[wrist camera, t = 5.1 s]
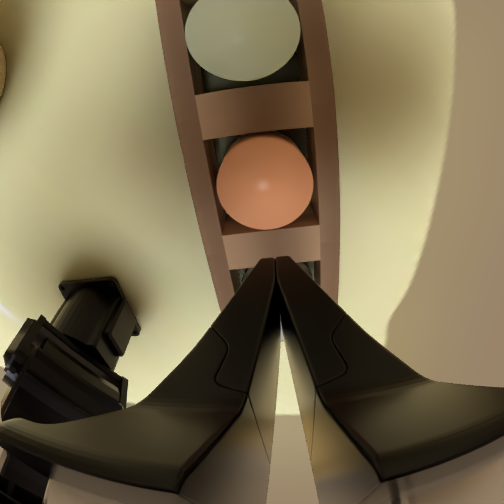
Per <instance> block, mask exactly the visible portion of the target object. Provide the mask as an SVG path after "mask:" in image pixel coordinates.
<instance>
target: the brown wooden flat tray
mask: <svg viewBox="0 0 504 504" xmlns="http://www.w3.org/2000/svg"><path fill="white" fill-rule="evenodd" d="M155 1H156V8H157V15H158V22H159V29H160V35H161V41H162V48H163V54H164V60H165V65H166V71H167V77H168V82H169V88H170V93H171V99H172V104H173V109H174V114H175V119H176V125H177V130H178V134H179V139H180V144H181V149H182V154H183V158H184V163H185V168H186V172H187V177H188V181H189V186H190V190H191V195H192V199H193V203H194V207H195V212H196V216H197V220H198V224H199V228H200V233H201V237H202V241H203V245H204V249H205V253H206V257H207V261H208V265H209V268H210V272H211V276H212V280H213V284H214V288H215V291H216V295H217V299H218V302H219V306H220V310H221V312H222V310H223V309H224V308H225V306H226V305H227V303H228V302H229V301H230V299H231V298H232V297H233V295H234V294H235V293H236V291H237V290H238V289H239V287H240V286H241V285H240V280H239V275H238V270H237V269H242V268H252V267H255V265H256V264H257V263H258V261H259V260H260V259H261V258H269V257H273V258H274V259H275V258H276V257H278V256H290V257H291V258H292V259H293V260H294V261H295V262H296V263H299V262H308V261H314V281H315V282H316V283H317V284H318V285H319V286H320V287H321V288H322V289H323V290H324V291H325V292H326V293H327V294H328V295H329V296H330V297H331V298H332V299H333V300H334V301H335V302H336V303H337V304H338V285H339V255H340V187H339V158H338V139H337V123H336V110H335V98H334V88H333V78H332V69H331V61H330V53H329V45H328V38H327V31H326V25H325V18H324V12H323V7H322V1H321V0H288V1H289V2H290V3H291V4H292V6H293V7H294V9H295V11H296V13H297V15H298V18H299V22H300V39H299V43H298V46H297V48H296V51H297V58H298V66H299V73H300V81H296V82H283V83H272V84H263V85H254V86H246V87H239V88H232V89H226V90H220V91H214V92H208V93H205V92H204V86H203V80H202V74H201V68H200V65H199V64H198V63H197V62H196V61H195V60H194V58H193V57H192V55H191V54H190V52H189V50H188V47H187V44H186V40H185V25H186V21H187V18H188V15H189V13H190V11H191V9H192V8H193V6H194V5H195V4H196V2H197V1H198V0H155ZM294 128H306V138H307V150H308V162H309V167H310V169H311V172H312V175H313V193H312V197H311V204H309V205H308V206H307V207H306V209H305V210H304V212H303V213H302V214H301V215H300V216H299V217H298V218H297V219H295V220H294V221H293V222H291V223H289V224H287V225H285V226H282V227H279V228H275V229H267V230H262V229H254V228H250V227H247V226H245V225H242V224H241V223H239V222H237V221H236V220H234V219H233V218H232V217H231V216H230V215H229V214H227V213H226V211H225V209H224V208H223V206H222V205H221V202H220V200H219V197H218V194H217V176H218V172H219V171H218V165H217V160H216V154H215V149H214V143H213V139H214V138H220V137H227V136H233V135H240V134H248V133H256V132H264V131H273V130H283V129H294Z"/></svg>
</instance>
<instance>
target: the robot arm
mask: <svg viewBox="0 0 504 504" xmlns="http://www.w3.org/2000/svg"><path fill="white" fill-rule="evenodd" d="M111 283H112V284H111ZM59 289H60V291H61V293H62V295H63V297H64V298H65V301H64V302H63V304H62V305H61V307H60V309H59V310H58V312H57V313H56V315H55V316H54V318H53V320H52V321H51V323H49V322H48V321H47V320H46V318H45V317H44V316H43V315H40V317H39V318H38V320H37V321H36V320H35V319H30V318H27V320H26V321H25V323H24V324H23V326H22V328H21V329H20V331H19V332H18V334H17V335H16V337H15V338H14V340H13V341H12V343H11V344H10V346H9V347H8V349H7V350H6V352H5V354H4V355H3V357H4V362H5V366H6V367H5V369H4V371H5V372H6V373H5V375H4V377H3V379H2V381H3V382H5V383H6V384H7V385H8V386H9V387H8V389H7V391H6V393H5V395H4V397H3V399H2V402H1V418H2V422H1V423H0V446H1V447H2V448H3V452H2V454H1V457H0V504H266V500H267V492H268V483H269V474H270V463H271V454H272V443H273V433H274V422H275V410H276V398H277V386H278V372H279V358H280V343H281V326H282V332H283V337H284V342H285V346H286V351H287V355H288V360H289V364H290V369H291V373H292V378H293V382H294V387H295V391H296V396H297V400H298V405H299V410H300V414H301V419H302V424H303V428H304V433H305V437H306V442H307V446H308V451H309V456H310V461H311V466H312V471H313V475H314V480H315V485H316V490H317V495H318V500H319V504H504V387H503V388H502V387H501V388H500V387H486V386H473V385H462V384H453V383H444V382H437V381H433V380H430V379H428V378H425V377H423V376H422V375H420V374H418V373H417V372H415V371H414V370H413V369H411V368H410V367H409V366H408V365H406V364H405V363H404V362H402V361H401V360H400V359H399V358H398V357H396V356H395V355H394V354H392V353H391V352H390V351H389V350H387V349H386V348H385V347H383V346H382V345H381V344H380V343H378V342H377V341H376V340H375V339H374V338H372V337H371V336H370V335H369V334H368V333H366V332H365V331H364V330H363V329H362V328H361V327H360V326H359V325H358V324H357V323H356V322H355V321H354V320H353V319H352V318H351V317H350V316H349V315H348V314H346V312H345V311H344V310H343V309H342V308H341V307H340V306H339V305H338V304H337V303H336V302H335V301H334V300H333V299H332V298H331V297H330V296H329V295H328V294H327V293H326V292H325V291H324V290H323V289H322V288H321V287H320V286H319V285H318V284H317V283H316V282H315V281H314V280H313V279H312V278H311V277H310V276H309V275H308V274H307V273H306V272H305V271H304V270H303V269H302V268H301V267H300V266H299V265H298V264H297V263H296V262H295V261H294V260H293V259H292V258H291V257H290V256H278V257H276V258H275V259H274V258H273V257H269V258H261V259H260V260H259V261H258V263H257V264H256V265H255V267H254V268H253V269H252V271H251V272H250V274H249V275H248V276H247V278H246V279H245V280H244V282H243V283H242V284H241V286H240V287H239V289H238V290H237V291H236V293H235V294H234V295H233V297H232V298H231V299H230V301H229V302H228V303H227V305H226V306H225V308H224V309H223V310H222V312H221V313H220V314H219V316H218V317H217V318H216V320H215V321H214V322H213V324H212V325H211V327H210V328H209V329H208V330H207V332H206V333H205V334H204V336H203V337H202V338H201V340H200V341H199V342H198V343H197V345H196V346H195V347H194V348H193V349H192V351H191V352H190V353H189V354H188V355H187V356H186V357H185V358H184V359H183V360H182V362H181V363H180V364H179V365H178V366H177V367H176V368H175V369H174V370H173V371H172V372H171V373H170V374H169V375H168V376H167V377H166V378H165V379H164V380H163V381H162V382H161V383H160V384H159V385H158V386H157V387H156V388H155V389H154V390H153V391H152V392H151V393H150V394H149V395H148V396H147V397H146V398H145V399H143V400H142V401H141V402H139V403H137V404H136V405H134V406H131V407H129V408H126V401H127V389H128V379H126V378H124V377H123V376H122V377H121V376H120V375H118V374H117V373H115V372H114V369H115V367H116V364H117V361H118V359H119V356H123V355H124V353H125V351H126V348H127V345H128V343H129V340H130V337H131V336H138V335H139V334H140V331H141V330H140V328H139V326H138V324H137V321H136V319H135V317H134V315H133V313H132V311H131V309H130V307H129V304H128V302H127V301H126V299H125V297H124V295H123V293H122V290H121V288H120V286H119V284H118V282H117V280H116V279H115V278H113V277H106V278H95V279H84V280H72V281H62V282H61V283H60V284H59ZM280 317H281V318H280Z"/></svg>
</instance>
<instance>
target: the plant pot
mask: <svg viewBox="0 0 504 504" xmlns="http://www.w3.org/2000/svg"><path fill="white" fill-rule="evenodd" d="M5 77H6V60H5V55H4V52H3V49H2V47H1V45H0V98H1V95H2V92H3V88H4V84H5Z"/></svg>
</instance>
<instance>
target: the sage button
mask: <svg viewBox="0 0 504 504" xmlns="http://www.w3.org/2000/svg"><path fill="white" fill-rule="evenodd" d="M299 39H300V22H299V18H298V15H297V13H296V11H295V9H294V7H293V6H292V4H291V3H290V2H289V1H288V0H198V1H197V2H196V4H195V5H194V6H193V8H192V9H191V11H190V13H189V15H188V18H187V21H186V25H185V40H186V44H187V47H188V50H189V52H190V54H191V55H192V57H193V58H194V60H195V61H196V62H197V63H198V64H199V65H200V66H201V67H202V68H204V69H205V70H206V71H208V72H210V73H211V74H213V75H216V76H218V77H221V78H224V79H228V80H235V81H253V80H258V79H261V78H264V77H266V76H269V75H270V74H272V73H274V72H275V71H277V70H279V69H280V68H281V67H282V66H284V65H285V64H286V63H287V62H288V61H289V59H290V58H291V57H292V56H293V54H294V52H295V50H296V48H297V46H298V43H299Z"/></svg>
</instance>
